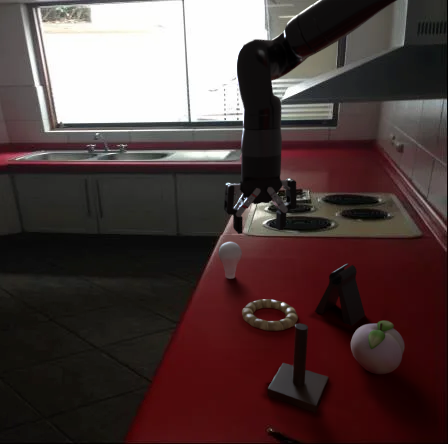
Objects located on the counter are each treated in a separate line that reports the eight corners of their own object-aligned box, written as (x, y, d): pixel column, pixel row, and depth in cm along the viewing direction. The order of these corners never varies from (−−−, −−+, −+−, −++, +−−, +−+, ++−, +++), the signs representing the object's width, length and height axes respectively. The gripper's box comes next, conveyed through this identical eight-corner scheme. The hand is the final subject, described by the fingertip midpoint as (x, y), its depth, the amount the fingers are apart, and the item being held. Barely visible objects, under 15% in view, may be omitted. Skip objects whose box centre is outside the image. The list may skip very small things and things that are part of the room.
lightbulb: (217, 284, 111) (216, 246, 107) (220, 274, 116) (220, 237, 113) (240, 286, 109) (240, 247, 106) (243, 276, 115) (243, 239, 111)
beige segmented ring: (303, 314, 94) (304, 305, 94) (287, 340, 85) (287, 330, 84) (254, 302, 101) (254, 293, 100) (233, 325, 92) (233, 316, 91)
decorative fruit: (354, 350, 81) (359, 305, 78) (402, 364, 76) (409, 316, 73) (343, 378, 74) (347, 329, 71) (395, 395, 69) (402, 343, 66)
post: (328, 383, 73) (333, 321, 69) (315, 413, 66) (320, 346, 63) (282, 369, 77) (285, 309, 73) (267, 395, 71) (269, 332, 67)
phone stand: (313, 315, 94) (316, 266, 90) (327, 305, 97) (330, 258, 94) (352, 331, 87) (357, 279, 83) (366, 320, 91) (371, 270, 87)
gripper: (230, 157, 76) (230, 240, 81) (305, 152, 78) (300, 234, 83) (220, 151, 83) (220, 228, 88) (288, 146, 85) (285, 222, 90)
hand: (259, 230), depth 85 cm, fingers open, 8 cm apart
